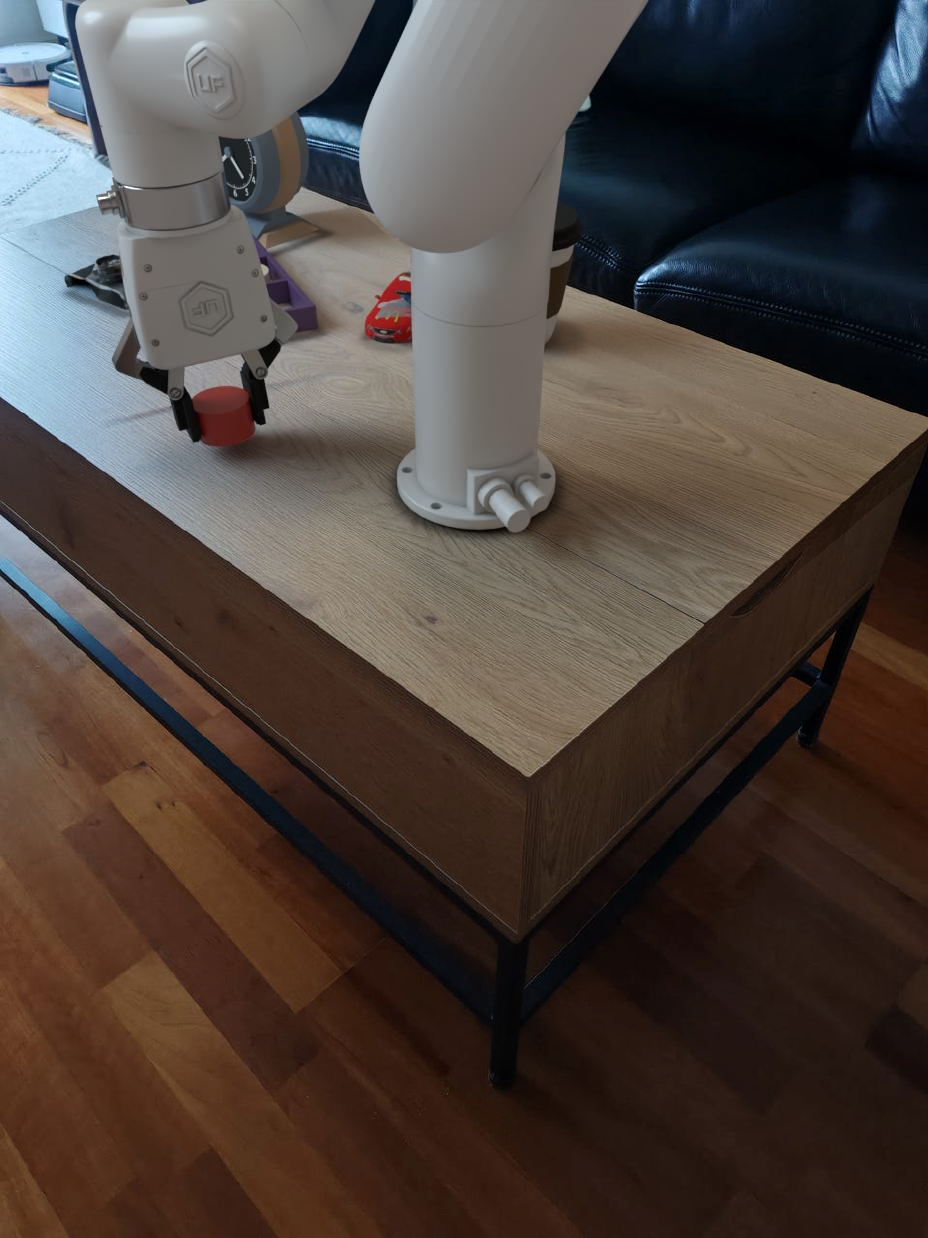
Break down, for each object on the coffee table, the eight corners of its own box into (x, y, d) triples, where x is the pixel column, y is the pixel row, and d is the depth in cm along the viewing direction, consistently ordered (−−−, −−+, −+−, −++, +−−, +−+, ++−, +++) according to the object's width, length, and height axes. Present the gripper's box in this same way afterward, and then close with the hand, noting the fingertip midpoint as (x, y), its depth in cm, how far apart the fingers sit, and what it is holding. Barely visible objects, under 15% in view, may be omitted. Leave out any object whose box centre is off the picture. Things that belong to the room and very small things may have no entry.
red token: (263, 437, 80) (256, 405, 78) (206, 452, 79) (198, 419, 77) (246, 412, 83) (239, 380, 81) (191, 426, 82) (183, 394, 80)
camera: (103, 276, 108) (94, 238, 105) (165, 300, 103) (158, 261, 101) (65, 291, 105) (54, 252, 102) (127, 317, 100) (118, 277, 98)
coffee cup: (447, 346, 96) (446, 222, 88) (493, 304, 103) (496, 187, 95) (549, 370, 92) (558, 243, 84) (589, 325, 100) (601, 204, 92)
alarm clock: (193, 229, 119) (163, 67, 107) (254, 208, 124) (232, 51, 112) (271, 259, 112) (249, 89, 100) (332, 235, 117) (318, 72, 106)
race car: (408, 354, 95) (406, 315, 92) (357, 345, 96) (354, 306, 93) (454, 299, 104) (454, 262, 101) (407, 292, 105) (405, 255, 103)
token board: (318, 333, 98) (315, 305, 96) (244, 349, 95) (239, 320, 93) (254, 257, 112) (250, 231, 110) (188, 268, 110) (183, 242, 108)
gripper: (60, 238, 63) (132, 475, 75) (306, 192, 69) (337, 420, 81) (43, 205, 69) (113, 431, 81) (274, 165, 74) (307, 383, 86)
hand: (225, 424), depth 80 cm, fingers closed on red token, 4 cm apart
